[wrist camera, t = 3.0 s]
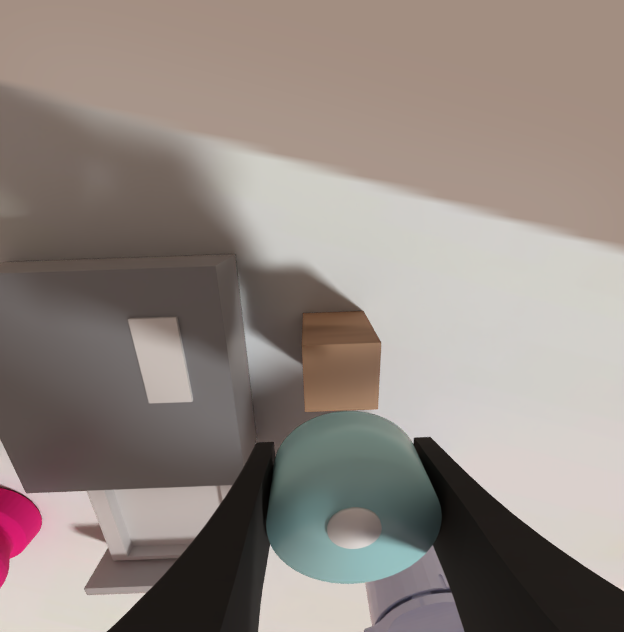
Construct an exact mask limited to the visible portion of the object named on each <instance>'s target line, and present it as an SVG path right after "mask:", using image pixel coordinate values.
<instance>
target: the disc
mask: <svg viewBox="0 0 624 632" xmlns="http://www.w3.org/2000/svg"><path fill="white" fill-rule="evenodd" d="M441 521H442V512H441V506H440V503H439V499H438V497H437V495H436V493H435V491H434V488H433V486H432V484H431V482H430V480H429V478H428V475H427V473H426V471H425V469H424V467H423V464H422V462H421V460H420V458H419V456H418V454H417V451H416V449H415V447H414V445H413V443H412V441H411V440H410V438H409V437H408V436H407V434H406V433H405V432H404V431H403V430H402V429H401V428H400V427H398V426H397V425H395V424H394V423H393V422H391V421H389V420H387V419H385V418H383V417H380V416H378V415H374V414H370V413H366V412H359V411H341V412H333V413H328V414H324V415H321V416H318V417H315V418H313V419H311V420H309V421H307V422H305V423H303V424H302V425H300V426H299V427H297V428H296V429H295V430H294V431H292V432H291V433H290V434H289V435H288V436H287V437H286V439H285V440H284V441H283V443H282V444H281V446H280V448H279V449H278V451H277V454H276V457H275V461H274V466H273V474H272V482H271V489H270V497H269V505H268V512H267V520H266V530H267V535H268V539H269V542H270V544H271V546H272V548H273V550H274V551H275V553H276V554H277V555H278V556H279V558H280V559H281V560H282V561H283V562H285V563H286V564H287V565H288V566H290V567H291V568H292V569H294V570H296V571H297V572H299V573H301V574H303V575H306V576H308V577H311V578H314V579H317V580H321V581H326V582H331V583H341V584H354V583H365V582H371V581H375V580H379V579H383V578H386V577H389V576H392V575H394V574H396V573H399V572H401V571H403V570H405V569H406V568H408V567H410V566H411V565H413V564H414V563H415V562H417V561H418V560H419V559H420V558H421V557H423V556H424V555H425V554H426V553H427V551H428V550H429V549H430V548H431V546H432V545H433V543H434V542H435V540H436V538H437V536H438V534H439V531H440V527H441Z"/></svg>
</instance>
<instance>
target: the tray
mask: <svg viewBox="0 0 624 632" xmlns="http://www.w3.org/2000/svg"><path fill="white" fill-rule="evenodd" d="M231 487H232V485H224V486H198V487H172V488H146V489H120V490H94V491H87V493H88V496H89V499H90V501H91V504H92V507H93V509H94V512H95V514H96V517H97V520H98V522H99V525H100V527H101V530H102V533H103V535H104V538H105V541H106V543H107V546H108V549H107V551H106V552H105V554H104V556H103V557H102V559H101V561H100V562H99V564H98V566H97V568H96V569H95V571H94V573H93V574H92V576H91V578H90V579H89V581H88V583H87V585H86V586H85V588H84V590H85V592H86V594H87V595H103V594H128V593H147V592H148V591H149V590H150V589H151V588H152V587H153V586H154V585H155V584H156V582H157V581H158V580H159V579H160V578H161V577H162V576H163V575H164V574H165V573H166V572H167V570H168V569H169V568H170V567H171V566H172V565H173V564H174V563H175V561H176V560H177V559H178V558H179V557H180V556H181V554H182V553H183V552H184V551H185V550H186V549H187V547H188V546H189V545H190V544H191V542H192V541H193V540H194V539H195V537H196V536H197V535H198V534H199V532H200V531H201V530H202V529H203V527H204V526H205V525H206V523H207V522H208V521H209V519H210V518H211V516H212V515H213V514H214V512H215V511H216V509H217V508H218V506H219V505H220V504H221V502H222V501H223V499H224V498H225V496H226V495H227V493H228V492H229V490H230V488H231Z"/></svg>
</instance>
